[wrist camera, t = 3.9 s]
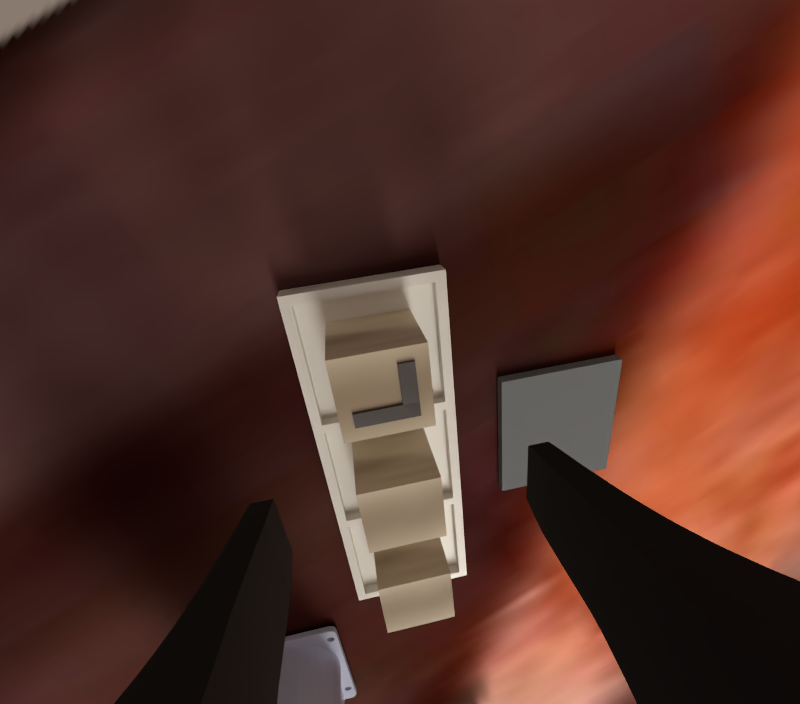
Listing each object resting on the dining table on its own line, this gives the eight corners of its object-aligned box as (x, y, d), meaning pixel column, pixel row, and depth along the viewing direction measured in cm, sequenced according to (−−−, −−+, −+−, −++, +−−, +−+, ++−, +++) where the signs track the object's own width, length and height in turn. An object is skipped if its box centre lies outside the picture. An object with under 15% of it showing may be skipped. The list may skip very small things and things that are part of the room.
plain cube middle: (429, 479, 24) (446, 535, 20) (363, 493, 23) (369, 553, 20) (423, 426, 22) (441, 477, 18) (351, 440, 22) (355, 495, 18)
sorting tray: (462, 562, 28) (466, 574, 27) (358, 586, 28) (359, 600, 27) (440, 264, 19) (445, 269, 18) (279, 290, 18) (276, 297, 17)
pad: (600, 461, 26) (605, 468, 26) (498, 483, 25) (502, 490, 25) (615, 354, 22) (622, 359, 22) (497, 376, 22) (501, 382, 21)
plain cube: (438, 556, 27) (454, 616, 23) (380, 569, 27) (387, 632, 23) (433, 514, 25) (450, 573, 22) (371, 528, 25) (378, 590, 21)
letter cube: (420, 379, 21) (439, 426, 17) (341, 394, 20) (344, 445, 17) (411, 307, 19) (432, 343, 15) (325, 322, 18) (324, 362, 15)
